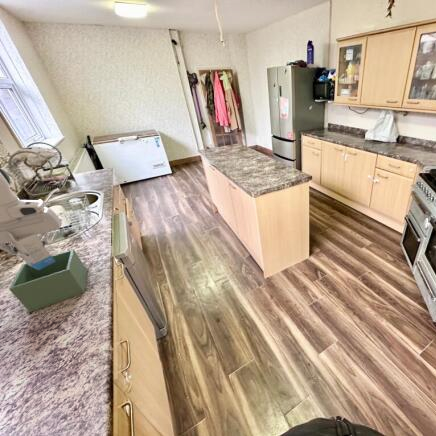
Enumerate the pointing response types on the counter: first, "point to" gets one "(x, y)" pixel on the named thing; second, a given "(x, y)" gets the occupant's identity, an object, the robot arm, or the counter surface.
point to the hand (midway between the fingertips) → (31, 248)
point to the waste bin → (50, 281)
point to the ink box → (32, 251)
